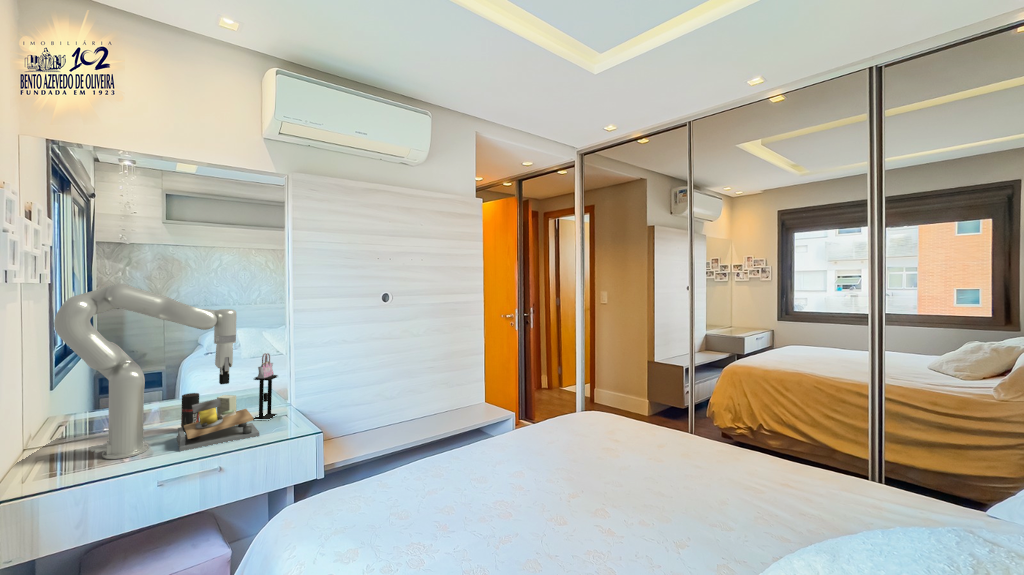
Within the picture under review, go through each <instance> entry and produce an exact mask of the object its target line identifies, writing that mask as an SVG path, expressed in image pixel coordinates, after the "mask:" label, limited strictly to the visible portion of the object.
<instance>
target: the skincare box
mask: <svg viewBox="0 0 1024 575" xmlns="http://www.w3.org/2000/svg"><path fill="white" fill-rule="evenodd" d="M218 398H219V399H220V402H221V406H219V407H216V413H217V416H220V415H221V414H222V412H225V411H229V410H232V409H233V410H234V411H237V395H233V394H222V395H220V396H217V397H216V399H218Z"/></svg>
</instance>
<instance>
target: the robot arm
mask: <svg viewBox="0 0 1024 575" xmlns="http://www.w3.org/2000/svg"><path fill="white" fill-rule="evenodd" d="M117 308H118V309H120V310H126V311H129V312H132V313H137V314H141V315H144V316H149V317H152V318H156V319H159V320H163V321H167V322H172V323H174V324H179V325H182V326H187V327H190V328H194V329H197V330H203V331H204V330H205V331H208V330H211V329H212V328H213V329H214V331H213V334H214V335H213V344H214V345H216V346H215V359H214V361H215V362H214V364H215V367H217V369H219V375H218V376H219V377H218V378H219V379H218V380H219V381H218V383H219V384H220V385H228V384H229V383H230V368H232V367H233V362H234V361H233V360H234V357H233V356H234V351H233V350H234V348H233V346H234V344H235V343H236V342H237V311H236V310H235V309H231V308H223V309H222V308H221V309H209V308H199V307H196V306H192V305H189V304H185V303H183V302H180V301H177V300H175V299H174V298H171V297H169V296H166V295H162V294H159V293H156V292H151V291H149V290H144V289H142V288H138V287H135V286H130V285H129V284H127V283H115V284H112V285H109V286H106V287H102V288H99V289H95V290H92V291H88V292H85V293H80V294H77V295H73V296H71V297H69V298H68V299H66V300H65V301H64V302H63V303H62V305H61V306H60V307H59V310H58V311H57V312H56V314H55V317H54V324H53V325H54V329H55V333H56V334H57V335H58V337H59V338H60V339H61V340H62V341H63V342H64V343H65V344H66V345H67V346H68V347H69V348H70V349H71V350H72V351H73V352H74V353H75V354H76V355H77V357H79V358H80V359H82V361H83V362H85V364H86V365H87V366H88V367H89V368H91V369H92V370H95V371H98V373H100V374H101V375H102V376H104V378H106V379H107V380H108V434H107V435H108V437H107V439H108V440H106V441H107V442H106V443H103V444H100V445H94V446H90V453H93V452H94V453H95V454H98V453H101V452H102V453H101V455H102V456H101V457H102V458H103V459H107V460H118V459H120V460H121V459H125V458H130V457H135V456H137V455H140V454H143V453H144V452H146V451H147V450H148V449H149V444H148V443H147V442H144V418H145V417H144V410H145V408H144V404H145V403H144V402H145V400H144V398H145V385H146V384H145V382H146V380H145V374H144V372H143V369H142V368H141V366H140V365H139V364H138V363H137V362H136V361H134V359H133V358H132V357H131V356H129V355H128V354H127V353H126V352H125V351H124V350H123V349H122V348H121V347H120V346H119V345H118V344H116V343H115V342H112V341H109V340H107V339H106V337H104V336H103V335H102V334H101V333H100V332H99V331H98V330H97V329H96V328H95V327H94V326H93V325H92V323H91V319H92V318H93V316H95V315H99V314H103V313H104V312H109V311H113V310H115V309H117Z"/></svg>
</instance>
